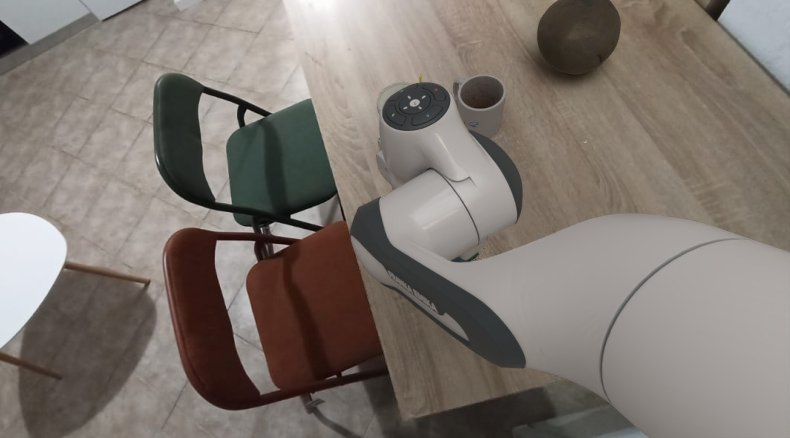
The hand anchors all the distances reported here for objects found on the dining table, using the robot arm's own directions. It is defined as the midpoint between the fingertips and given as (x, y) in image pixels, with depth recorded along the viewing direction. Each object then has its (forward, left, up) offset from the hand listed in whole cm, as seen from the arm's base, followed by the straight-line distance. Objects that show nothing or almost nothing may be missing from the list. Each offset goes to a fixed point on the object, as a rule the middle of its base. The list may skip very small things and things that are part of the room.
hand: (429, 219), depth 70 cm
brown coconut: (+15, -48, -15) cm, 52 cm away
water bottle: (+20, -10, -15) cm, 27 cm away
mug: (+18, -26, -15) cm, 35 cm away
